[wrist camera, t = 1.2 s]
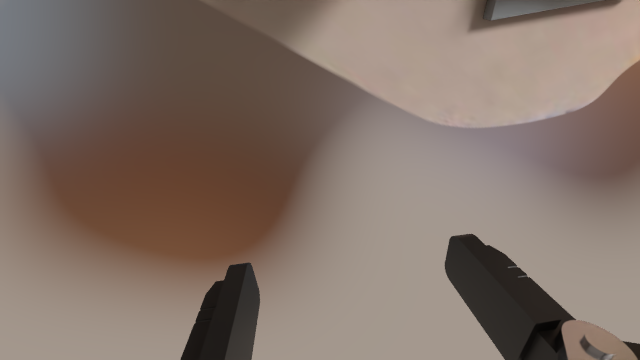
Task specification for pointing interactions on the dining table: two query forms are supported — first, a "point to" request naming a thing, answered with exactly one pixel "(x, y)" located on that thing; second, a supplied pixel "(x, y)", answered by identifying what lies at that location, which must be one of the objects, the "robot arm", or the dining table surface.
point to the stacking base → (525, 7)
